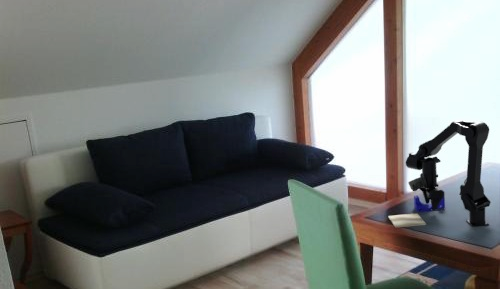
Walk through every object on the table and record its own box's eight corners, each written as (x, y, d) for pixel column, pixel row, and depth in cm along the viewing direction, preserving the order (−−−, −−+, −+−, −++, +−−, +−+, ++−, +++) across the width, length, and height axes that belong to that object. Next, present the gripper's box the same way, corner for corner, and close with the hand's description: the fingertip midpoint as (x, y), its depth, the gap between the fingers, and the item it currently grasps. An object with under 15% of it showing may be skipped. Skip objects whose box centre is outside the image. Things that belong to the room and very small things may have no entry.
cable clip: (416, 212, 219) (416, 198, 217) (414, 208, 223) (413, 195, 222) (445, 210, 217) (445, 196, 216) (442, 206, 222) (442, 193, 221)
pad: (425, 224, 204) (425, 223, 204) (395, 227, 204) (395, 226, 204) (417, 214, 216) (416, 213, 215) (388, 217, 216) (388, 215, 216)
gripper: (404, 168, 225) (405, 201, 228) (416, 179, 207) (418, 216, 210) (429, 165, 225) (430, 199, 228) (444, 177, 206) (445, 213, 210)
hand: (430, 207), depth 219 cm, fingers open, 9 cm apart
